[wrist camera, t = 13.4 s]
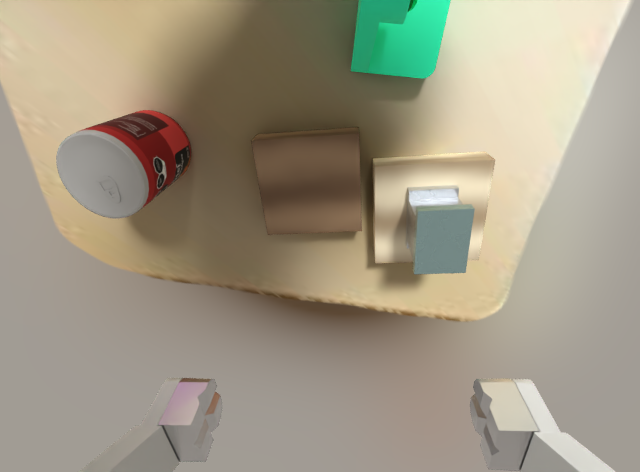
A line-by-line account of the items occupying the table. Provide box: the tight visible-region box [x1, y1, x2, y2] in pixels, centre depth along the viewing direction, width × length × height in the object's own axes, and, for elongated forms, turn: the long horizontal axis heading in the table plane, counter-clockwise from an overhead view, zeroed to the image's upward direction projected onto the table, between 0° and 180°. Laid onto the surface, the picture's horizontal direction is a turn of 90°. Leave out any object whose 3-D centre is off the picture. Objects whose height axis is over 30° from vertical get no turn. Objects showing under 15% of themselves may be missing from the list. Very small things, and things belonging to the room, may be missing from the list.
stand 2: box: [373, 152, 495, 263], centre depth 40 cm, size 12×12×3 cm
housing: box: [405, 185, 475, 274], centre depth 36 cm, size 5×7×6 cm
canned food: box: [56, 110, 191, 218], centre depth 35 cm, size 8×8×11 cm
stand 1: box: [251, 127, 362, 235], centre depth 39 cm, size 11×11×3 cm
